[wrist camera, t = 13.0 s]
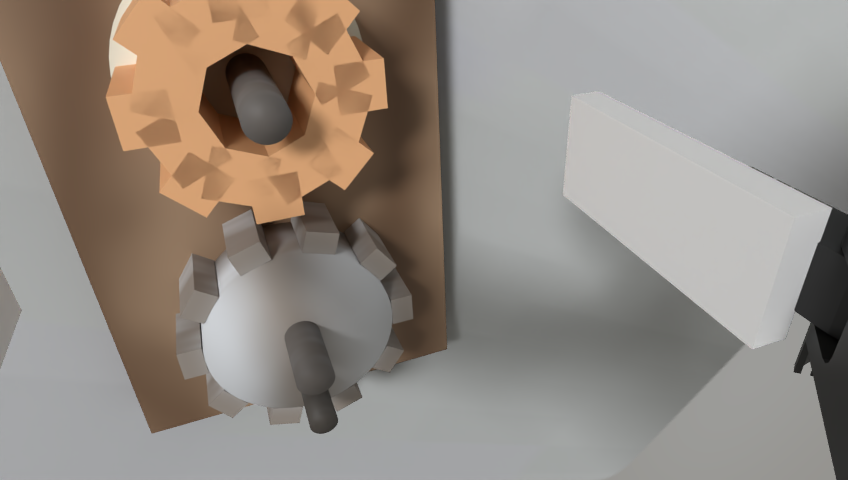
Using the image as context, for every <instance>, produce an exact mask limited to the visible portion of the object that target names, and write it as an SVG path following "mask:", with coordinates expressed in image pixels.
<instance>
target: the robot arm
mask: <svg viewBox="0 0 848 480" xmlns="http://www.w3.org/2000/svg"><path fill="white" fill-rule="evenodd" d="M563 195H564V196H565V197H566V198H567V199H569V200H570V201H571V202H572V203H573V204H575V205H576V206H577V207H578V208H580V209H581V210H582V211H583V212H584V213H586V214H587V215H588V216H589V217H591V218H592V219H593V220H594V221H595V222H597V223H598V224H599V225H600V226H602V227H603V228H604V229H605V230H607V231H608V232H609V233H610V234H611V235H613V236H614V237H615V238H616V239H618V240H619V241H620V242H621V243H622V244H624V245H625V246H626V247H627V248H629V249H630V250H631V251H632V252H633V253H635V254H636V255H637V256H638V257H640V258H641V259H642V260H643V261H644V262H646V263H647V264H648V265H649V266H651V267H652V268H653V269H654V270H655V271H657V272H658V273H659V274H660V275H662V276H663V277H664V278H665V279H666V280H668V281H669V282H670V283H671V284H673V285H674V286H675V287H676V288H677V289H679V290H680V291H681V292H682V293H684V294H685V295H686V296H687V297H688V298H690V299H691V300H692V301H693V302H695V303H696V304H697V305H698V306H699V307H701V308H702V309H703V310H704V311H706V312H707V313H708V314H709V315H710V316H712V317H713V318H714V319H715V320H717V321H718V322H719V323H720V324H721V325H723V326H724V327H725V328H726V329H728V330H729V331H730V332H731V333H733V334H734V335H735V336H736V337H737V338H739V339H740V340H741V341H742V342H744V343H745V344H746V345H747V346H748V347H750V348H751V349H752V350H753V349H756V348H759V347H762V346H765V345H768V344H771V343H774V342H777V341H781V340H784V339H786V336H787V333H788V330H789V328H790V325H791V322H792V319H793V316H794V314H795V311H796V312H797V313H799V314H800V315H801V316H803V317H804V318H806V319H807V320H809V321H810V322H811V323H810V326H809V328H808V331H807V334H806V336H805V339H804V342H803V344H802V347H801V350H800V352H799V355H798V357H797V360H796V363H795V367H794V372H795V373H801V371H802V368H803V366H804V365H805V364H807V363H808V362H810V363H811V368H812V371H811V374H810V375H811V376H814V381H815V385H816V390H817V394H818V399H819V403H820V408H821V412H822V416H823V421H824V426H825V430H826V435H827V439H828V444H829V448H830V453H831V457H832V462H833V466H834V471H835V475H836V479H837V480H848V215H847V214H845V213H843V212H841V211H839V210H837V209H835V208H833V207H831V206H829V205H827V204H825V203H823V202H821V201H819V200H817V199H815V198H813V197H811V196H809V195H807V194H805V193H803V192H801V191H799V190H797V189H795V188H794V189H793V188H791V187H790V186H789V185H787V184H785V183H783V182H781V181H779V180H775V179H773V177H771V176H769V175H767V174H765V173H763V172H761V171H759V170H757V169H755V168H753V167H750V166H747V165H745V164H743V163H741V162H739V161H737V160H735V159H733V158H731V157H729V156H727V155H725V154H723V153H721V152H719V151H717V150H715V149H713V148H712V147H710V146H708V145H706V144H704V143H702V142H700V141H698V140H696V139H694V138H692V137H690V136H688V135H686V134H684V133H682V132H680V131H678V130H676V129H674V128H672V127H670V126H668V125H666V124H664V123H662V122H660V121H658V120H656V119H654V118H652V117H650V116H648V115H646V114H644V113H642V112H640V111H638V110H636V109H634V108H632V107H630V106H628V105H626V104H624V103H622V102H620V101H618V100H616V99H614V98H612V97H610V96H608V95H606V94H604V93H602V92H600V91H595V92H589V93H583V94H577V95H572V97H571V108H570V119H569V131H568V142H567V153H566V165H565V176H564V188H563ZM21 311H22V310H21V308H20V306H19V304H18V302H17V300H16V298H15V296H14V294H13V292H12V290H11V288H10V286H9V284H8V282H7V280H6V278H5V276H4V274H3V272H2V270H1V268H0V368H1V365H2V362H3V360H4V357H5V354H6V352H7V349H8V346H9V343H10V341H11V338H12V335H13V332H14V330H15V327H16V324H17V322H18V319H19V316H20V313H21Z"/></svg>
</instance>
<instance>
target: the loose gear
mask: <svg viewBox="0 0 848 480" xmlns="http://www.w3.org/2000/svg"><path fill="white" fill-rule="evenodd" d="M359 12H360V10H358V9H357V8H356V7H355V6H354V5H353V4H352V3H351V2H349V1H348V0H132V2H131V3H130V5H129V6H128V8H127V9H126V11H125V12H124V14H123V15H122V17H121V19H120V22H119V24H118V27H117V30H116V32H115V35H114V37H113V40H114V41H115V42H117V43H119V44H120V45H122V46H123V47H125V48H126V49H128V50H129V51H131V52H132V53H134V54H135V55H137V60H136V64H131V65H123V66H116V67H115V68H114V71H113V75H112V78H111V81H110V84H109V88H108V91H107V94H106V100H107V103H108V106H109V109H110V112H111V115H112V118H113V121H114V124H115V127H116V131H117V134H118V137H119V140H120V143H121V146H122V149H123V151H129V150H135V149H141V148H147V147H148V148H149V149H150V150H151V151H152V152H153V154H154V155H155V156H156V157H157V158H158V160H159V161H160V190H159V193H161V194H163V195H165V196H167V197H168V198H170V199H172V200H174V201H176V202H178V203H180V204H182V205H184V206H186V207H187V208H189V209H191V210H193V211H195V212H197V213H199V214H201V215H203V216H204V217H206V218H207V217H208V215H209V214H210V212H211V211H212V210H213V208H214V207H215V206H216V204H217V203H218V202H219V201H220V202H226V203H233V204H240V205H246V206H252V208H253V212H254V216H255V220H256V223H257V224H262V223H267V222H272V221H277V220H281V219H286V218H291V217H296V216H301V215H305V213H304V207H303V201H302V196H304V195H306V194H307V193H309V192H311V191H312V190H314V189H316V188H317V187H319V186H320V185H322V184H324V183H325V182H327V181H329V180H330V181H331V182H333V183H335V184H336V185H338V186H339V187H341V188H342V189H344V190H345V189H346V188H347V187H348V186H349V184H350V183H351V182H352V181H353V179H354V178H355V177H356V176H357V174H358V173H359V172H360V170H361V169H362V168H363V167H364V165H365V164H366V163H367V162H368V160H369V159H370V158H371V156H372V155H373V154H374V153H373V151H372V150H371V149H370V148H369V146H368V145H367V144H366V143H365V141H364V140H363V139H362V137H361V133H362V129H363V126H364V123H365V119H366V116H367V112H368V111H373V110H380V109H386V108H388V104H387V92H386V79H385V67H384V58H383V57H381V56H380V55H379V54H378V53H376V52H375V51H374V50H372V49H371V48H370V47H369V46H367V45H366V44H365V43H363V42H362V41H361V40H360V39H358V38H357V37H356V36H352V37H350V36H349V34H348V32H347V28H348V27H349V25H350V24H351V23H352V21H353V20H354V19H355V17H356V16H357V15H358V13H359ZM246 44H249V45H253V46H256V47H260V48H264V49H267V50H271V51H275V52H279V53H282V54H286V55H289V57H290V58H291V60H292V62H293V63H294V65H295V67H296V68H295V72H294V76H293V80H292V85H291V89H290V93H289V97H288V101H287V105H288V107H289V109H290V110H291V113H292V118H293V123H292V128H291V130H290V132H289V134H288V135H287V136H286V137H285V138H284V139H283V140H282V141H280V142H278V143H276V144H272V145H261V144H258V143H255V142H253V141H252V140H250V139H249V138H248V137H247V136H246V135H245V134H244V132H243V130H242V128H241V125H240V121H239V118H237V117H232V116H227V115H223V114H218V113H217V112H216V110H215V109H214V108H213V106H212V105H211V103H210V102H209V101H208V99H207V98H206V97H205V95H204V94H203V92H202V90H203V85H204V79H205V74H206V68H207V67H209V66H210V65H212V64H214V63H216V62H217V61H219V60H221V59H222V58H224V57H226V56H227V55H229V54H231V53H232V52H234V51H236V50H238V49H239V48H241V47H243V46H244V45H246Z"/></svg>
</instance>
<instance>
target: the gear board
mask: <svg viewBox="0 0 848 480" xmlns="http://www.w3.org/2000/svg"><path fill="white" fill-rule="evenodd" d="M348 1H349V2H351V3H352V4H353V5H354V6H355V7H356V8H357V9H358V10H360V12H359V13H358V15H357V16H356V17H355V19H354V20H353V21H352V23H351V24H350V25H349V27H348V28H347V32H348V34H349V36H350V37H352V36H356V37H357V38H358V39H360V40H361V41H362V42H363V43H365V44H366V45H367V46H369V47H370V48H371V49H372V50H374V51H375V52H376V53H378V54H379V55H380V56H381V57H383V58H384V67H385V79H386V92H387V104H388V108H386V109H380V110H373V111H368V112H367V116H366V119H365V123H364V126H363V129H362V133H361V137H362V139H363V140H364V141H365V143H366V144H367V145H368V146H369V148H370V149H371V150H372V151H373V153H374V154H373V155H372V156H371V158H370V159H369V160H368V162H367V163H366V164H365V165H364V167H363V168H362V169H361V170H360V172H359V173H358V174H357V176H356V177H355V178H354V179H353V181H352V182H351V183H350V184H349V186H348V187H347V188H346V189H345V190H344V189H342V188H341V187H339V186H338V185H336V184H335V183H333V182H331V181H330V180H329V181H327V182H325V183H324V184H322V185H320V186H319V187H317V188H316V189H314V190H312V191H311V192H309V193H307V194H306V195H304V196H302V201H303V207H304V213H305V215H301V216H296V217H291V218H286V219H281V220H277V221H272V222H267V223H262V224H257V223H256V220H255V216H254V212H253V208H252V206H246V205H240V204H233V203H226V202H220V201H219V202H218V203H217V204H216V206H215V207H214V208H213V210H212V211H211V212H210V214H209V215H208V217H207V218H206V217H204V216H203V215H201V214H199V213H197V212H195V211H193V210H191V209H189V208H187V207H186V206H184V205H182V204H180V203H178V202H176V201H174V200H172V199H170V198H168V197H167V196H165V195H163V194H161V193H159V190H160V161H159V160H158V158H157V157H156V156H155V155H154V154H153V152H152V151H151V150H150V149H149V148H148V147H147V148H141V149H135V150H129V151H123V149H122V146H121V143H120V140H119V137H118V134H117V131H116V127H115V124H114V121H113V118H112V115H111V112H110V109H109V106H108V103H107V100H106V94H107V91H108V88H109V84H110V81H111V78H112V75H113V71H114V68H115V67H116V66H123V65H131V64H136V60H137V55H135V54H134V53H132V52H131V51H129V50H128V49H126V48H125V47H123V46H122V45H120V44H119V43H117V42H115V41H114V40H113V37H114V35H115V32H116V30H117V27H118V24H119V22H120V19H121V17H122V15H123V14H124V12H125V11H126V9H127V8H128V6H129V5H130V3H131V2H132V0H0V61H1V64H2V66H3V69H4V71H5V74H6V76H7V78H8V81H9V83H10V86H11V88H12V91H13V93H14V96H15V98H16V101H17V103H18V106H19V108H20V110H21V113H22V115H23V118H24V120H25V123H26V125H27V128H28V130H29V133H30V135H31V138H32V140H33V142H34V145H35V147H36V150H37V152H38V155H39V157H40V160H41V162H42V165H43V167H44V170H45V172H46V174H47V177H48V179H49V182H50V184H51V187H52V189H53V192H54V194H55V197H56V199H57V202H58V204H59V206H60V209H61V211H62V214H63V216H64V219H65V221H66V224H67V226H68V229H69V231H70V233H71V236H72V238H73V241H74V243H75V246H76V248H77V251H78V253H79V256H80V258H81V261H82V263H83V265H84V268H85V270H86V273H87V275H88V278H89V280H90V283H91V285H92V288H93V290H94V293H95V295H96V297H97V300H98V302H99V305H100V307H101V310H102V312H103V315H104V317H105V320H106V322H107V325H108V327H109V329H110V332H111V334H112V337H113V339H114V342H115V344H116V347H117V349H118V352H119V354H120V357H121V359H122V361H123V364H124V366H125V369H126V371H127V374H128V376H129V379H130V381H131V384H132V386H133V389H134V391H135V393H136V396H137V398H138V401H139V403H140V406H141V408H142V411H143V413H144V416H145V418H146V421H147V423H148V425H149V428H150V430H151V433H155V432H159V431H162V430H166V429H169V428H173V427H176V426H180V425H183V424H187V423H190V422H194V421H197V420H201V419H204V418H208V417H211V416H215V415H218V414H222V413H224V414H226V415H228V416H230V417H232V418H233V417H234V416H235V415H236V414H237V413H239V412H240V411H241V410H242V409H243V408H244V407H246V406H250V405H253V404H255V405H258V406H264V407H267V410H268V415H269V421H270V425H274V424H289V423H300V418H301V413H302V408H303V406H305V409H306V413H307V417H308V421H309V424H310V428H311V430H312V431H313V432H315V433H319V434H322V433H327V432H329V431H331V430H332V429H334V428H335V426H336V425H337V423H338V418H337V415H336V411H335V409H336V410H337V411H339V410H341V409H342V408H344V407H346V406H348V405H350V404H351V403H353V402H355V401H357V400H359V399H360V398H362V395H361V393H360V390H359V387H358V385H357V382H358V381H359V380H360V379H361V378H362V377H363V376H365V375H366V374H367V373H368V372H369V371H372V370H376V369H378V370H382V371H386V372H390V371H391V370H392V368H393V367H394V365H395V364H397V363H400V362H404V361H407V360H411V359H414V358H418V357H421V356H425V355H428V354H432V353H435V352H439V351H442V350H446V349H447V333H446V305H445V277H444V248H443V220H442V192H441V164H440V136H439V107H438V79H437V51H436V23H435V0H348ZM295 68H296V67H295V65H294V63H293V62H292V60H291V58H290V57H289V55H286V54H282V53H279V52H275V51H271V50H267V49H264V48H260V47H256V46H253V45H249V44H246V45H244V46H243V47H241V48H239V49H238V50H236V51H234V52H232V53H231V54H229V55H227V56H226V57H224V58H222V59H221V60H219V61H217V62H216V63H214V64H212V65H210V66H209V67H207V68H206V74H205V79H204V85H203V90H202V92H203V94H204V95H205V97H206V98H207V99H208V101H209V102H210V103H211V105H212V106H213V108H214V109H215V110H216V112H217V113H218V114H223V115H227V116H232V117H237V118H239V121H240V125H241V128H242V130H243V132H244V134H245V135H246V136H247V137H248V138H249V139H250V140H252V141H253V142H255V143H258V144H261V145H272V144H276V143H278V142H280V141H282V140H283V139H284V138H285V137H286V136H287V135H288V134H289V132H290V130H291V128H292V123H293V118H292V113H291V110H290V109H289V107H288V105H287V101H288V97H289V93H290V89H291V85H292V80H293V76H294V72H295Z"/></svg>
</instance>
